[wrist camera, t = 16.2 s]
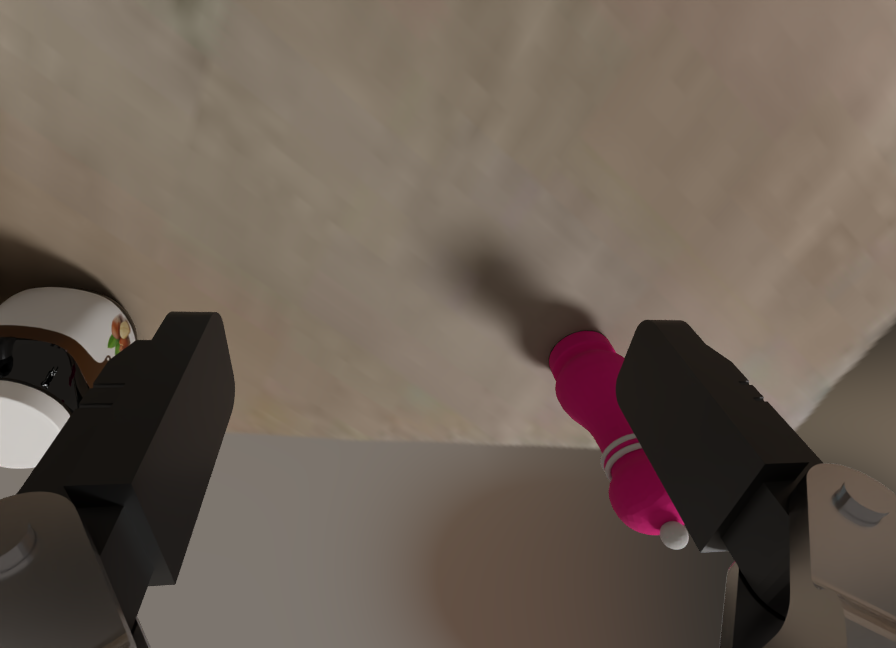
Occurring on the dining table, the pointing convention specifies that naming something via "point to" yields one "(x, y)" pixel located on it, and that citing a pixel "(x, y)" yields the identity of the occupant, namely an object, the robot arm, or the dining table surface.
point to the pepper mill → (613, 435)
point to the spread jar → (52, 362)
